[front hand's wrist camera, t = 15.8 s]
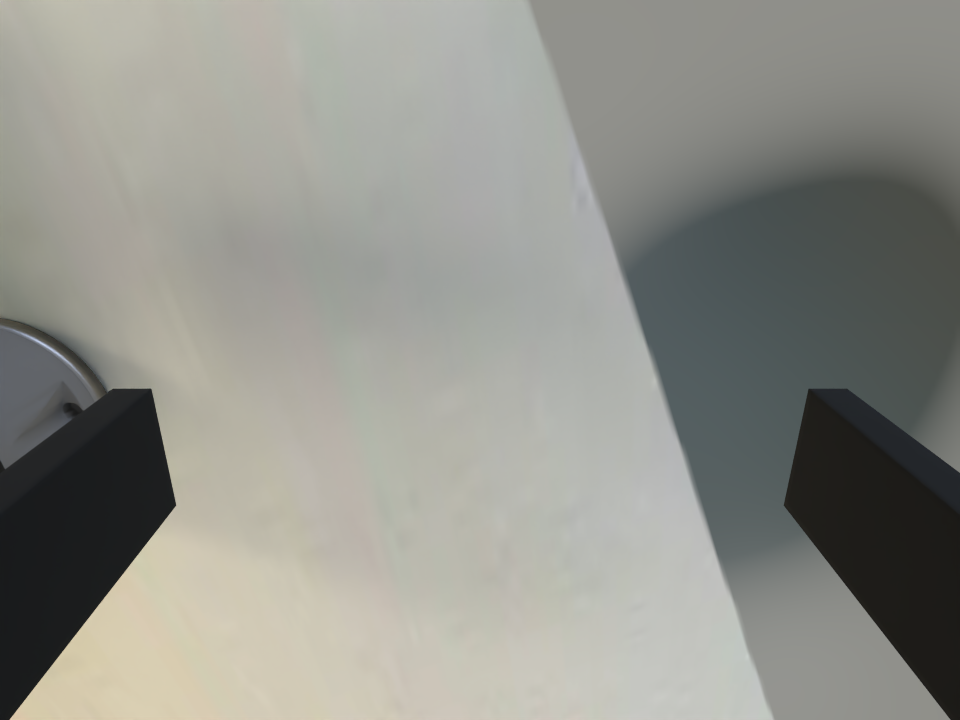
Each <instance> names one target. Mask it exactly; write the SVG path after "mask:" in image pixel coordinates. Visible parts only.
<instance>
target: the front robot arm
mask: <svg viewBox="0 0 960 720" xmlns="http://www.w3.org/2000/svg"><path fill="white" fill-rule="evenodd" d="M175 506H176V502H175V497H174V493H173V488H172V483H171V479H170V474H169V469H168V465H167V460H166V455H165V451H164V446H163V441H162V436H161V432H160V427H159V422H158V418H157V413H156V408H155V404H154V399H153V394H152V390H151V389H112V390H111V391H109V392H108V393H106V392H105V390H104V388H103V386H102V385H101V383H100V382H99V380H98V379H97V377H96V376H95V375H94V373H93V372H92V371H91V370H90V369H89V367H88V366H87V365H86V364H85V363H84V362H83V361H82V360H81V359H80V358H79V357H78V356H77V355H76V354H74V353H73V352H72V351H71V350H70V349H68V348H67V347H66V346H64V345H63V344H62V343H60V342H58V341H57V340H55V339H54V338H52V337H50V336H49V335H47V334H45V333H43V332H41V331H39V330H37V329H34V328H32V327H30V326H27V325H24V324H21V323H18V322H14V321H11V320H6V319H1V318H0V720H10V718H11V717H12V716H13V714H14V713H15V712H16V711H17V709H18V708H19V707H20V705H21V704H22V703H23V702H24V700H25V699H26V698H27V696H28V695H29V694H30V693H31V691H32V690H33V689H34V687H35V686H36V685H37V684H38V682H39V681H40V680H41V678H42V677H43V676H44V675H45V673H46V672H47V671H48V669H49V668H50V667H51V666H52V664H53V663H54V662H55V660H56V659H57V658H58V657H59V655H60V654H61V653H62V651H63V650H64V649H65V648H66V646H67V645H68V644H69V642H70V641H71V640H72V639H73V637H74V636H75V635H76V633H77V632H78V631H79V630H80V628H81V627H82V626H83V624H84V623H85V622H86V621H87V619H88V618H89V617H90V615H91V614H92V613H93V612H94V610H95V609H96V608H97V606H98V605H99V604H100V603H101V601H102V600H103V599H104V597H105V596H106V595H107V594H108V592H109V591H110V590H111V588H112V587H113V586H114V585H115V583H116V582H117V581H118V579H119V578H120V577H121V576H122V574H123V573H124V572H125V570H126V569H127V568H128V567H129V565H130V564H131V563H132V561H133V560H134V559H135V558H136V556H137V555H138V554H139V553H140V551H141V550H142V549H143V547H144V546H145V545H146V544H147V542H148V541H149V540H150V538H151V537H152V536H153V535H154V533H155V532H156V531H157V529H158V528H159V527H160V526H161V524H162V523H163V522H164V520H165V519H166V518H167V517H168V515H169V514H170V513H171V511H172V510H173V509H174V508H175ZM784 506H785V508H786V509H787V510H788V511H789V513H790V514H791V515H792V516H793V518H794V519H795V520H796V522H797V523H798V524H799V526H800V527H801V528H802V529H803V531H804V532H805V533H806V535H807V536H808V537H809V538H810V540H811V541H812V542H813V543H814V545H815V546H816V547H817V549H818V550H819V551H820V552H821V554H822V555H823V556H824V558H825V559H826V560H827V561H828V563H829V564H830V565H831V567H832V568H833V569H834V570H835V572H836V573H837V574H838V576H839V577H840V578H841V579H842V581H843V582H844V583H845V585H846V586H847V587H848V588H849V590H850V591H851V592H852V594H853V595H854V596H855V597H856V599H857V600H858V601H859V603H860V604H861V605H862V606H863V608H864V609H865V610H866V612H867V613H868V614H869V615H870V617H871V618H872V619H873V621H874V622H875V623H876V624H877V626H878V627H879V628H880V630H881V631H882V632H883V633H884V635H885V636H886V637H887V639H888V640H889V641H890V642H891V644H892V645H893V646H894V648H895V649H896V650H897V651H898V653H899V654H900V655H901V657H902V658H903V659H904V660H905V662H906V663H907V664H908V666H909V667H910V668H911V669H912V671H913V672H914V673H915V675H916V676H917V677H918V678H919V680H920V681H921V682H922V683H923V685H924V686H925V687H926V689H927V690H928V691H929V693H930V694H931V695H932V696H933V698H934V699H935V700H936V702H937V703H938V704H939V705H940V707H941V708H942V709H943V710H944V712H945V713H946V714H947V716H948V717H949V718H950V719H951V720H960V473H959V472H958V471H956V470H955V469H954V468H952V467H951V466H950V465H948V464H947V463H946V462H944V461H943V460H942V459H940V458H939V457H938V456H936V455H935V454H934V453H932V452H931V451H930V450H928V449H927V448H926V447H924V446H923V445H922V444H920V443H919V442H918V441H916V440H915V439H914V438H912V437H911V436H910V435H908V434H907V433H906V432H904V431H903V430H901V429H900V428H899V427H897V426H896V425H895V424H893V423H892V422H891V421H889V420H888V419H887V418H885V417H884V416H883V415H881V414H880V413H879V412H877V411H876V410H875V409H873V408H872V407H871V406H869V405H868V404H867V403H865V402H864V401H863V400H861V399H860V398H859V397H857V396H856V395H855V394H853V393H852V392H851V391H849V390H848V389H809V390H808V394H807V399H806V404H805V408H804V413H803V418H802V423H801V427H800V432H799V437H798V441H797V446H796V451H795V455H794V460H793V465H792V469H791V474H790V479H789V483H788V488H787V493H786V497H785V502H784Z"/></svg>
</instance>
